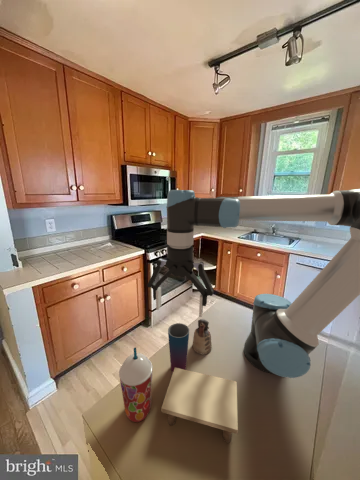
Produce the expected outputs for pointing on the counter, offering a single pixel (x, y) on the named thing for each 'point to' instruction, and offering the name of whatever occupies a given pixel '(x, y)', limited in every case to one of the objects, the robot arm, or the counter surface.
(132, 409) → the smoothie
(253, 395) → the counter surface
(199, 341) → the figurine
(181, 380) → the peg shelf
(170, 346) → the cup
